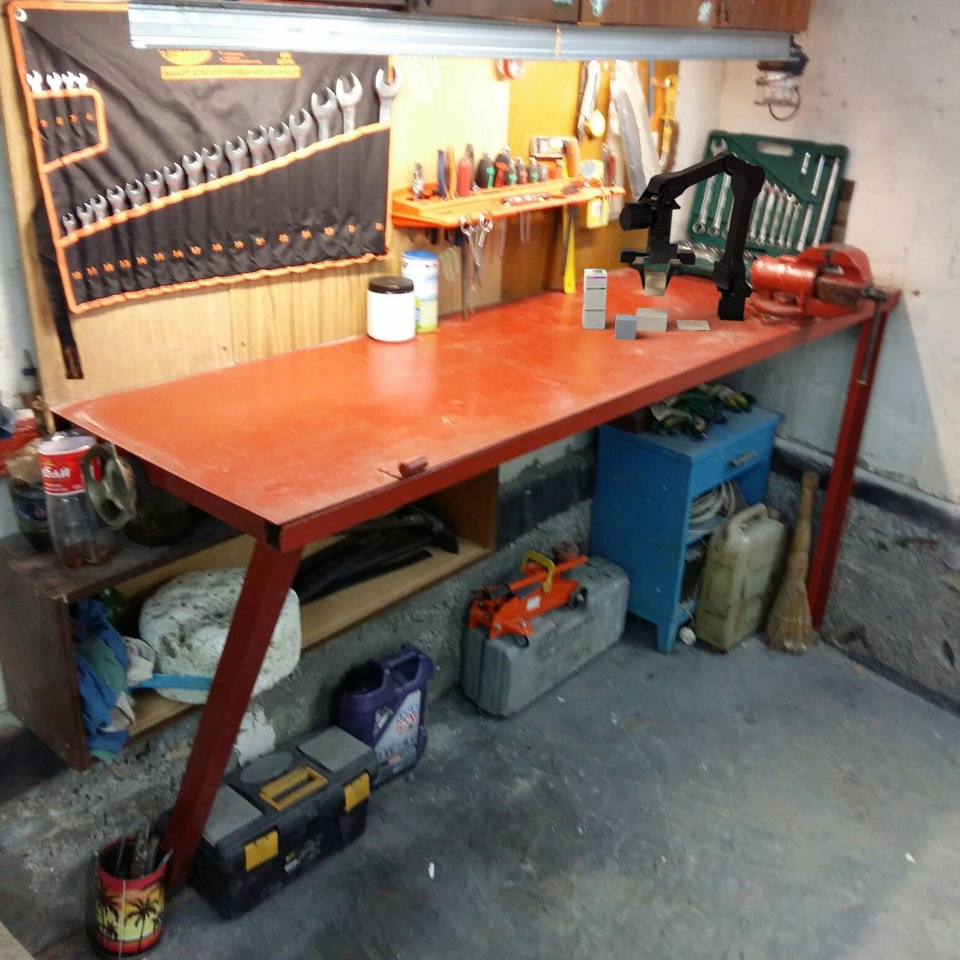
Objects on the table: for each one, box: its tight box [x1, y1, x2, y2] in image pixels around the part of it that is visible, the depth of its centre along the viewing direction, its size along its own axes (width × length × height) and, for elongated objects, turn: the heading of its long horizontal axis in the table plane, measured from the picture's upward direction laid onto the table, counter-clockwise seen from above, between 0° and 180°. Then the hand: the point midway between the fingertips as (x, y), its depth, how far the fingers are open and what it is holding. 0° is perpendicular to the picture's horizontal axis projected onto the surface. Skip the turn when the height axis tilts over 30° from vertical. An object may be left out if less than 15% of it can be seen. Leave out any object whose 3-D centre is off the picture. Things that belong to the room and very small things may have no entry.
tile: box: [675, 319, 711, 332], centre depth 257 cm, size 8×8×1 cm
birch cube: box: [643, 271, 666, 297], centre depth 252 cm, size 5×5×5 cm
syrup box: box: [581, 268, 608, 330], centre depth 253 cm, size 6×6×14 cm
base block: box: [635, 307, 669, 333], centre depth 256 cm, size 8×8×4 cm
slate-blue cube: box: [614, 314, 637, 341], centre depth 247 cm, size 5×5×5 cm
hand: (654, 289), depth 252 cm, fingers closed on birch cube, 5 cm apart
